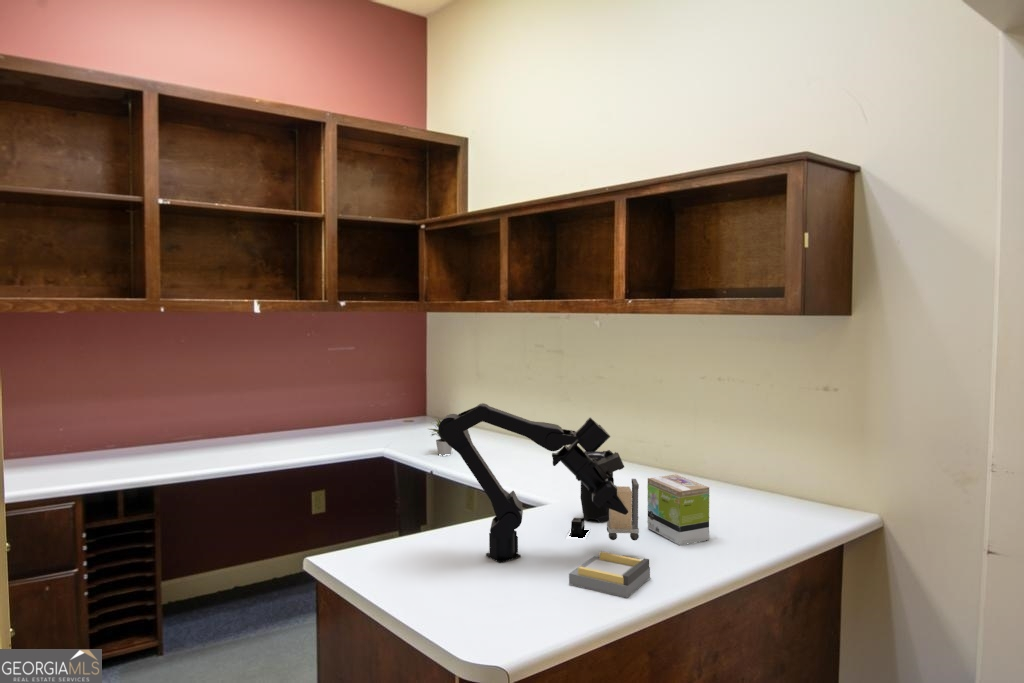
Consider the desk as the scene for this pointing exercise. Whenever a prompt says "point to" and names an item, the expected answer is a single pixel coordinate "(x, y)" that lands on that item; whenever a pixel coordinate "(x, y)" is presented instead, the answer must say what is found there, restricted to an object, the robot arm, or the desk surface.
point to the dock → (611, 574)
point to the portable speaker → (586, 497)
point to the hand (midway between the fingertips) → (625, 510)
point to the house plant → (441, 442)
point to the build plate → (578, 528)
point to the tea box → (678, 509)
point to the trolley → (630, 520)
